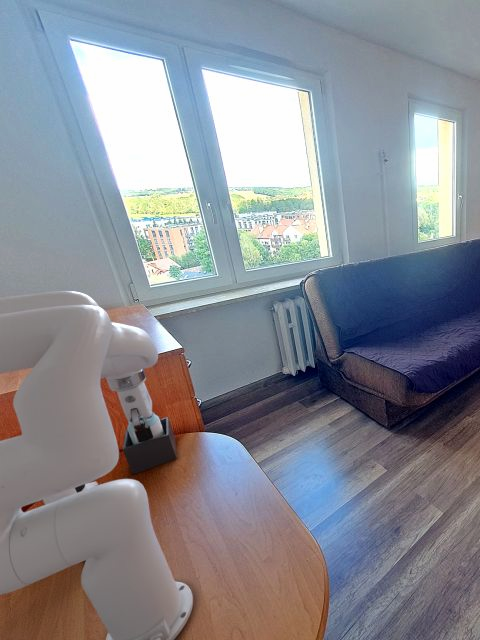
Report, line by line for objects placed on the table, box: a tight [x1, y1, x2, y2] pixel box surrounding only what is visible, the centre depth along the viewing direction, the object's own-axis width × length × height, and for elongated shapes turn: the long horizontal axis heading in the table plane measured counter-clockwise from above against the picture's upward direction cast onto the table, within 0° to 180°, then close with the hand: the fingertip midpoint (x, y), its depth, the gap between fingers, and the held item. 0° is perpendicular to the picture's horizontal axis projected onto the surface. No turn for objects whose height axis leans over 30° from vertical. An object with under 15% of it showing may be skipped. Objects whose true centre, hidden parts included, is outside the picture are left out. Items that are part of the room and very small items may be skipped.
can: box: [126, 411, 165, 445], centre depth 96 cm, size 7×7×12 cm
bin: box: [122, 416, 178, 475], centre depth 97 cm, size 10×10×9 cm
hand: (146, 431), depth 95 cm, fingers closed on can, 7 cm apart
